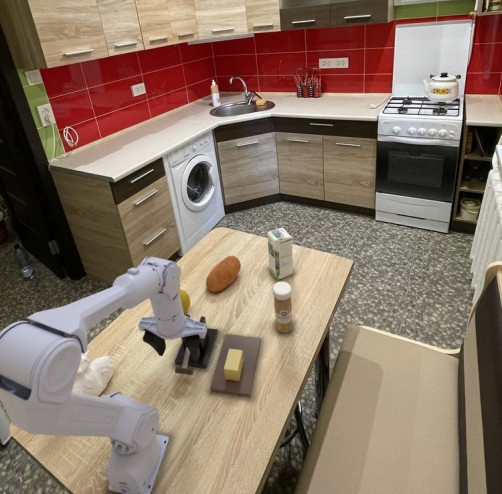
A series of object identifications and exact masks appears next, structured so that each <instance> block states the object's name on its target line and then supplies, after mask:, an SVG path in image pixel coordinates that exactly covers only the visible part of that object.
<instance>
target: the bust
mask: <svg viewBox="0 0 502 494" xmlns="http://www.w3.org/2000/svg"><path fill="white" fill-rule="evenodd" d="M90 352H91V351H90V349H87V351H86V353H85V354H84V353H82V354H81V360H80V365H79V368H78V372H77V375H76V379H75V382H74V385H73V389H72V392H76V393H81V394H86V395H92V396H97V397H100V395H102V393H103V392H104V391H105V389H106V388H107V387H108V384H109V382H110V380H111V379H112V377H113V375H114V373H115V365H114V361H113V359H112V358H111V356H109V355H103V356H100V357H97V358H94V359H92V361H90V359H88V357H91V354H90Z"/></svg>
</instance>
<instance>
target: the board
mask: <svg viewBox="0 0 502 494" xmlns="http://www.w3.org/2000/svg"><path fill="white" fill-rule="evenodd" d="M260 345H261V337H255V336H246V335H236V334H228V333H227V334H225V336H224V340H223V343H222V347H221V351H220V354H219V357H218V361H217V364H216V368H215V371H214V373H213V374H214V375H213V378H212V382H211V385H210V389H209V390H210V392H214V393H219V394H220V393H221V394H227V395H234V396H241V397H246V398H247V397H248V398H251V395H252V390H253V385H254V378H255V373H256V368H257V367H256V366H257V363H258V357H259V352H260V351H259V350H260ZM229 349H236V350H242V351H243V358H244V362H243V366H242V371H241V375H240V380H239V381H234V380H227V379H225V373H224V366H225V363H226V359H227V355H228V351H229Z"/></svg>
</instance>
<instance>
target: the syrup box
mask: <svg viewBox="0 0 502 494" xmlns="http://www.w3.org/2000/svg"><path fill="white" fill-rule="evenodd" d="M266 234H267V235H266V236H267V248H268V249H267V250H268V265H269V266H268V267H269V271H270V273H271V274H272V275H273V276H274V278H275V279H276V280H277V281H279V280H282V279H284V278H287V277H288V276H291V275H293V274H294V265H293V263H294V262H293V260H294V259H293V236H292V235H291V234H290V233H289V232H288V231H287V230H286V229H285V228H284V227H279V228H276V229H273V230H270V231H268V232H267V233H266Z"/></svg>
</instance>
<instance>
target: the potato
mask: <svg viewBox="0 0 502 494" xmlns="http://www.w3.org/2000/svg"><path fill="white" fill-rule="evenodd" d="M241 267H242V264H241V260H240V259H239V258H238V257H236V256H235V255H228V256H226V257H225V258H223V259H222V260H221V261H219V262H218V263H217V264H216V265H215V266H214V267H213V268H212V269H211V271H210V272H209V273H208V275H207V277H206V279H205V286H206V287H207V289H208V290H209V291H210V292H213V293H216V292H221V291H223V290H224V289H226V288H227V287H228V286H230V285H231V284H232V283H233V282H234V281H235V280H236V278H237V276H238V274H239V273H240V271H241Z"/></svg>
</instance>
